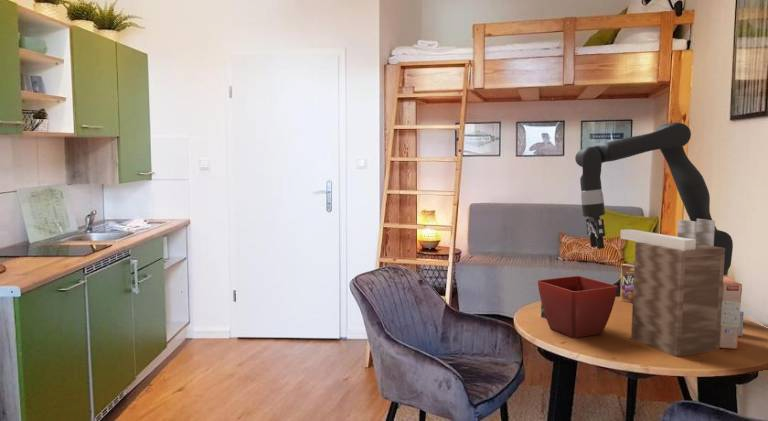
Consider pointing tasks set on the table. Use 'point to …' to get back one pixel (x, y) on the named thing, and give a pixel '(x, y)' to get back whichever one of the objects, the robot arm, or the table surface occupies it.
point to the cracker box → (730, 313)
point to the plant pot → (577, 304)
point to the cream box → (658, 239)
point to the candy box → (627, 283)
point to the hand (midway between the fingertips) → (597, 247)
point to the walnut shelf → (679, 292)
